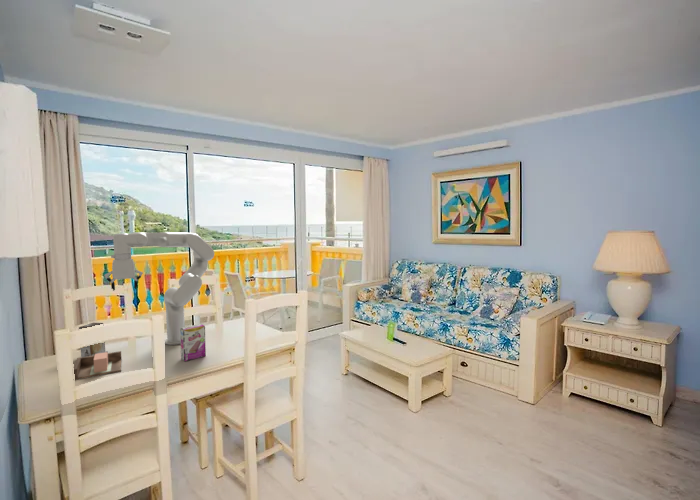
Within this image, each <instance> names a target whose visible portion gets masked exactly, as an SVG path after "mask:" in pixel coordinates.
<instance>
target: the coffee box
mask: <svg viewBox="0 0 700 500" xmlns="http://www.w3.org/2000/svg"><path fill="white" fill-rule="evenodd" d="M100 324H103V325H104V323H103V322H92V323H89V324H88V323H87V324H85V325H82V326H78V330H79V329H82V328H87V327H92V326H95V325H100ZM105 343H106V341H105V342H104V343H98V344H94V345H90V346H87V347H84V348H80V358H81V357H87V356H93V355H95V353H99V352H106V344H105Z"/></svg>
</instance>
